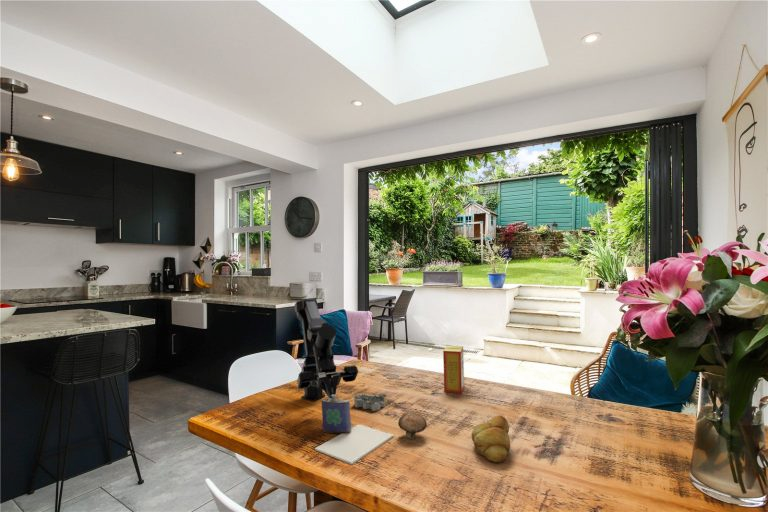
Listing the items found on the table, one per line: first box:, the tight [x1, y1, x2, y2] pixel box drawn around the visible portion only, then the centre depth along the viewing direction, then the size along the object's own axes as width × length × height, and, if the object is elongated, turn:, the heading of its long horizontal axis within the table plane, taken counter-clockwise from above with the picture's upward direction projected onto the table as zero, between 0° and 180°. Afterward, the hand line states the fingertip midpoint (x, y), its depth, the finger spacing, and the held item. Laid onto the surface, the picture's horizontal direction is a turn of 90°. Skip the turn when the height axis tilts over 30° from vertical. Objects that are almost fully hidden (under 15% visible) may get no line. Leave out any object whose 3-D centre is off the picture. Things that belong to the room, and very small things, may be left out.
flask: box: [321, 393, 352, 434], centre depth 111 cm, size 9×3×11 cm, turn 68°
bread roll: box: [471, 415, 511, 463], centre depth 97 cm, size 13×10×8 cm
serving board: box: [314, 424, 395, 465], centre depth 103 cm, size 13×18×1 cm
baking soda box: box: [442, 345, 465, 394], centre depth 147 cm, size 10×6×16 cm
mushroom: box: [397, 412, 428, 440], centre depth 107 cm, size 8×8×6 cm
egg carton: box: [352, 393, 387, 412], centre depth 131 cm, size 11×8×4 cm
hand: (333, 401), depth 114 cm, fingers closed
